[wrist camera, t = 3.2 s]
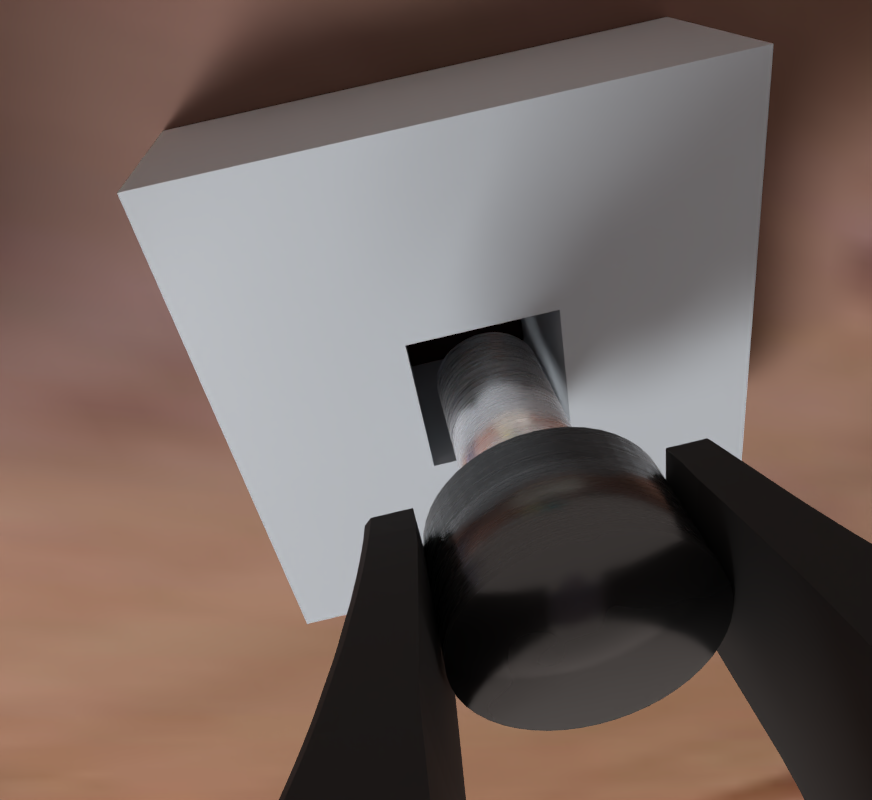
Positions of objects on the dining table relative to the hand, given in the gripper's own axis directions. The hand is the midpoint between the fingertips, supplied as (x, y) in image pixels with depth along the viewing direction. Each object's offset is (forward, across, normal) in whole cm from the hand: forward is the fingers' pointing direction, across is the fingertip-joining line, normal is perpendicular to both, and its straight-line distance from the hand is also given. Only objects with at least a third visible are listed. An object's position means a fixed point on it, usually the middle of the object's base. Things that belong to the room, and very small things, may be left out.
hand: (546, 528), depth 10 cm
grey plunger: (+4, 0, 0) cm, 4 cm away
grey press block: (+8, 0, 0) cm, 8 cm away
